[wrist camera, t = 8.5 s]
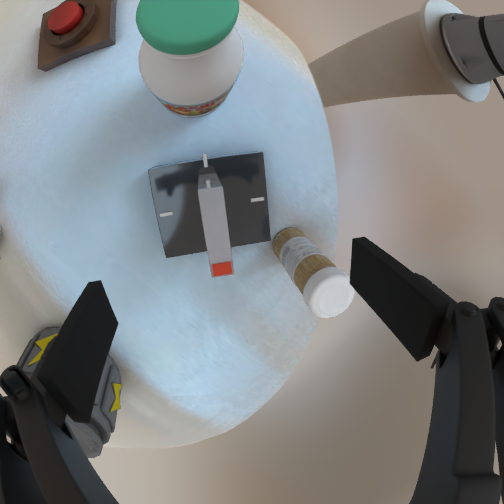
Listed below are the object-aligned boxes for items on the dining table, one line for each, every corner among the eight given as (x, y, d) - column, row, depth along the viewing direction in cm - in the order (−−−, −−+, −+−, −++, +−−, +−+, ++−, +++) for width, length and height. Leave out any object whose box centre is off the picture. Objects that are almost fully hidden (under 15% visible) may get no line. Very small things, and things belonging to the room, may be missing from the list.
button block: (117, -9, 17) (109, -22, 14) (115, 44, 21) (105, 33, 17) (49, 18, 16) (36, 9, 12) (45, 71, 20) (30, 66, 16)
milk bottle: (147, 80, 24) (76, 7, 6) (205, 45, 23) (220, -65, 5) (183, 131, 27) (152, 114, 9) (241, 94, 27) (309, 31, 9)
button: (84, 1, 15) (79, -4, 13) (82, 26, 16) (76, 21, 15) (55, 14, 14) (49, 10, 13) (52, 39, 16) (46, 35, 14)
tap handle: (198, 175, 27) (197, 191, 18) (215, 172, 27) (223, 187, 19) (208, 238, 30) (212, 279, 21) (224, 235, 30) (234, 275, 21)
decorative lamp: (17, 317, 31) (-54, 456, 4) (109, 325, 35) (64, 523, 8) (54, 389, 39) (24, 510, 12) (134, 400, 42) (128, 544, 15)
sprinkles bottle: (293, 264, 36) (336, 325, 24) (265, 250, 35) (300, 312, 23) (311, 235, 35) (365, 286, 23) (283, 220, 34) (330, 268, 22)
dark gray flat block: (256, 145, 29) (262, 146, 27) (265, 236, 34) (271, 246, 31) (151, 162, 28) (146, 164, 25) (169, 252, 33) (167, 263, 30)
